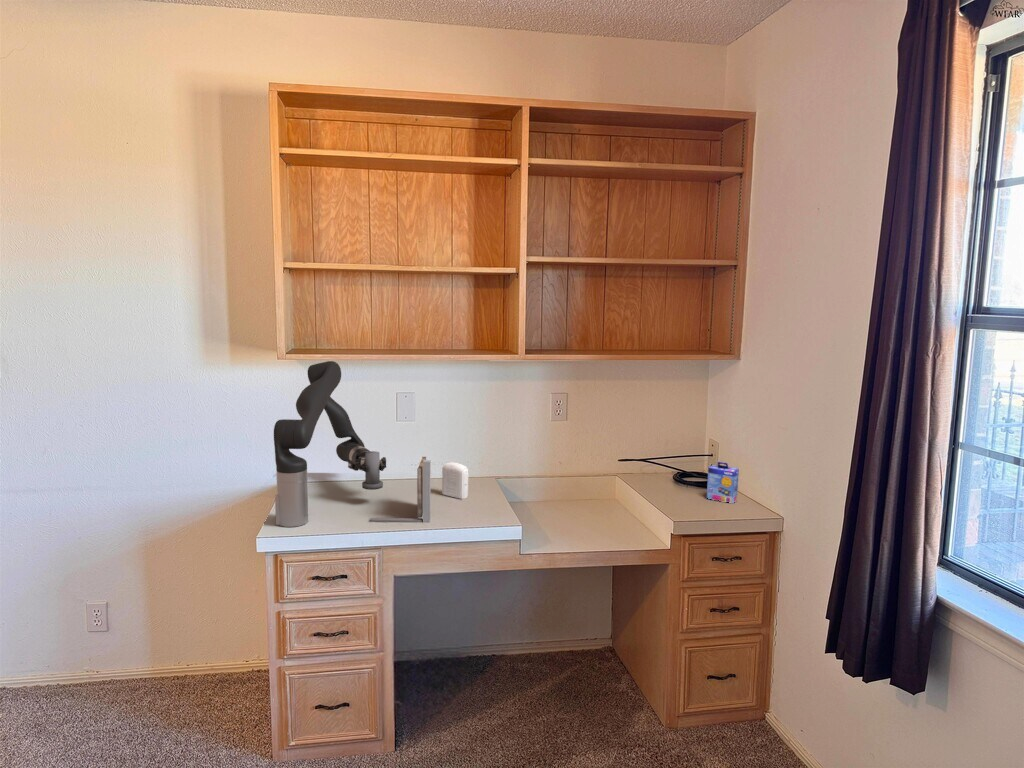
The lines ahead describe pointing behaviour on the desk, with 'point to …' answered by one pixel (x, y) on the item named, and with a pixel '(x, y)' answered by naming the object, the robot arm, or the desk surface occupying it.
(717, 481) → the ink cartridge box
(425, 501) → the wall frame
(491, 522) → the desk surface
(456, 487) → the photo printer
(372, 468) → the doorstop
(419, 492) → the door
